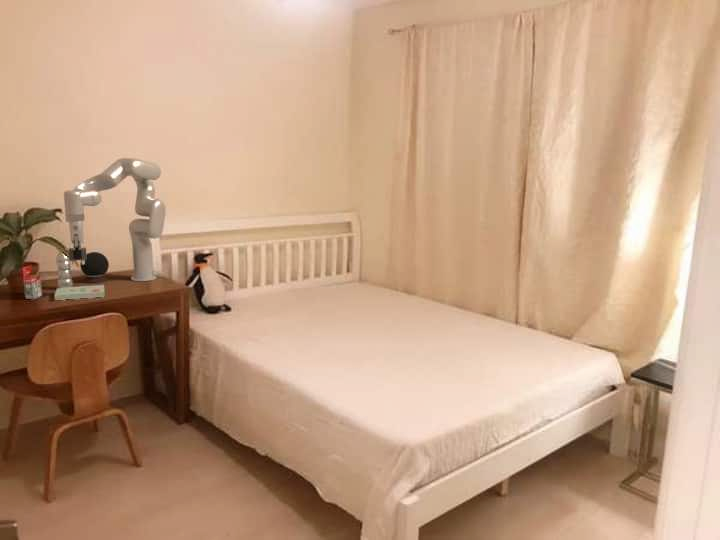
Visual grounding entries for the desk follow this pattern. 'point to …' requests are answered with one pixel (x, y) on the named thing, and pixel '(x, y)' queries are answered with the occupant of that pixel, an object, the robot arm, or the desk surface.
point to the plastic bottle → (63, 270)
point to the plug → (83, 253)
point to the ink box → (31, 284)
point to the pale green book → (79, 292)
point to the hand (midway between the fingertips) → (77, 257)
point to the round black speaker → (95, 268)
